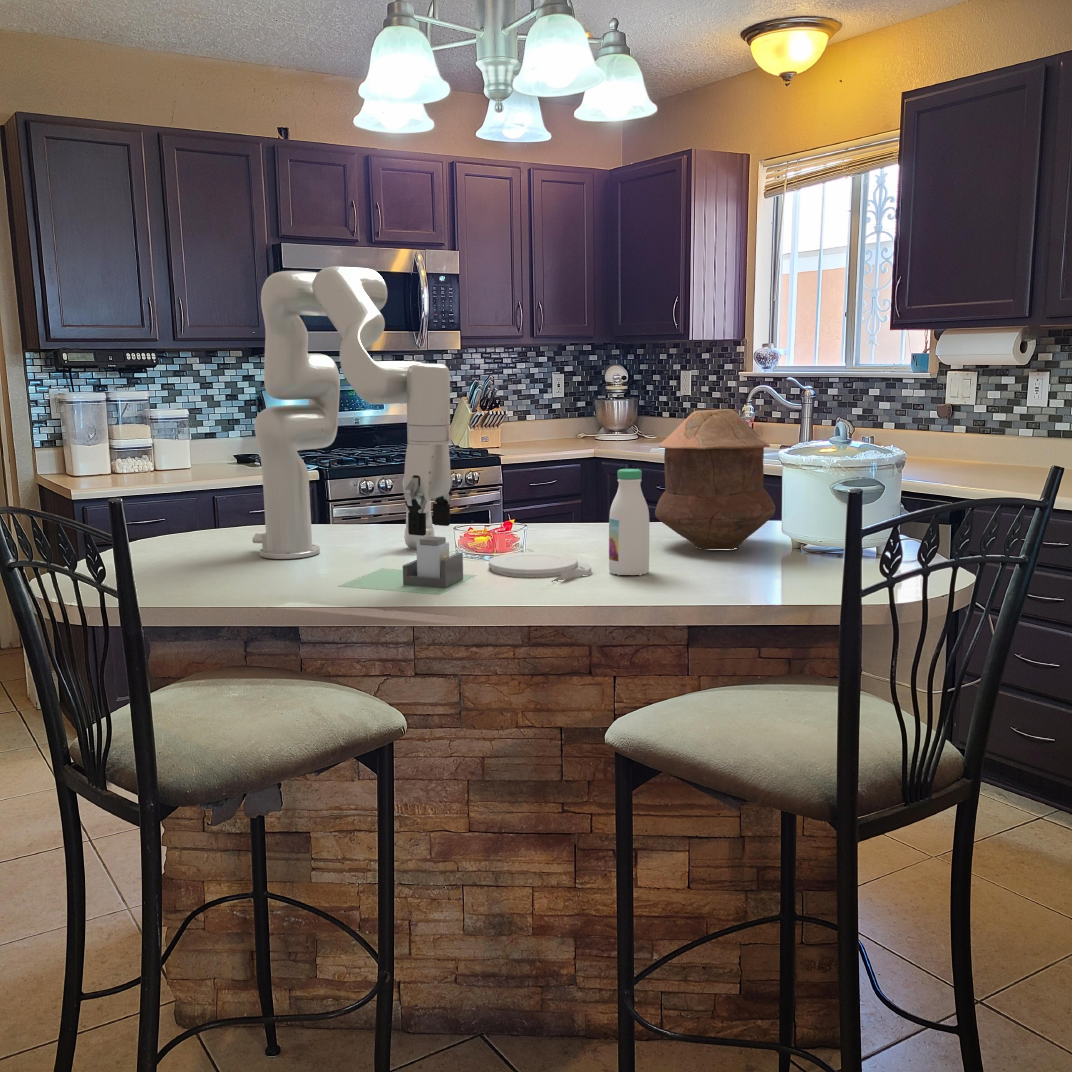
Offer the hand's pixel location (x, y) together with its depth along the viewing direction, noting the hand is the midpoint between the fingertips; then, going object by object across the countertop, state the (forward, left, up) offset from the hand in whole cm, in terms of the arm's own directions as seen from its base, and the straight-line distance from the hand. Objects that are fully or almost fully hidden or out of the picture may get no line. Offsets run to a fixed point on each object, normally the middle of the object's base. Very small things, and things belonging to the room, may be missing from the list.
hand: (429, 529), depth 178 cm
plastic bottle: (-19, +34, -11) cm, 40 cm away
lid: (+15, +18, -11) cm, 26 cm away
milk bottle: (+31, +24, -11) cm, 40 cm away
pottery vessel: (+42, +54, -11) cm, 69 cm away
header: (+1, 0, -10) cm, 10 cm away
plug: (+1, 0, -10) cm, 9 cm away
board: (-4, 0, -11) cm, 12 cm away
